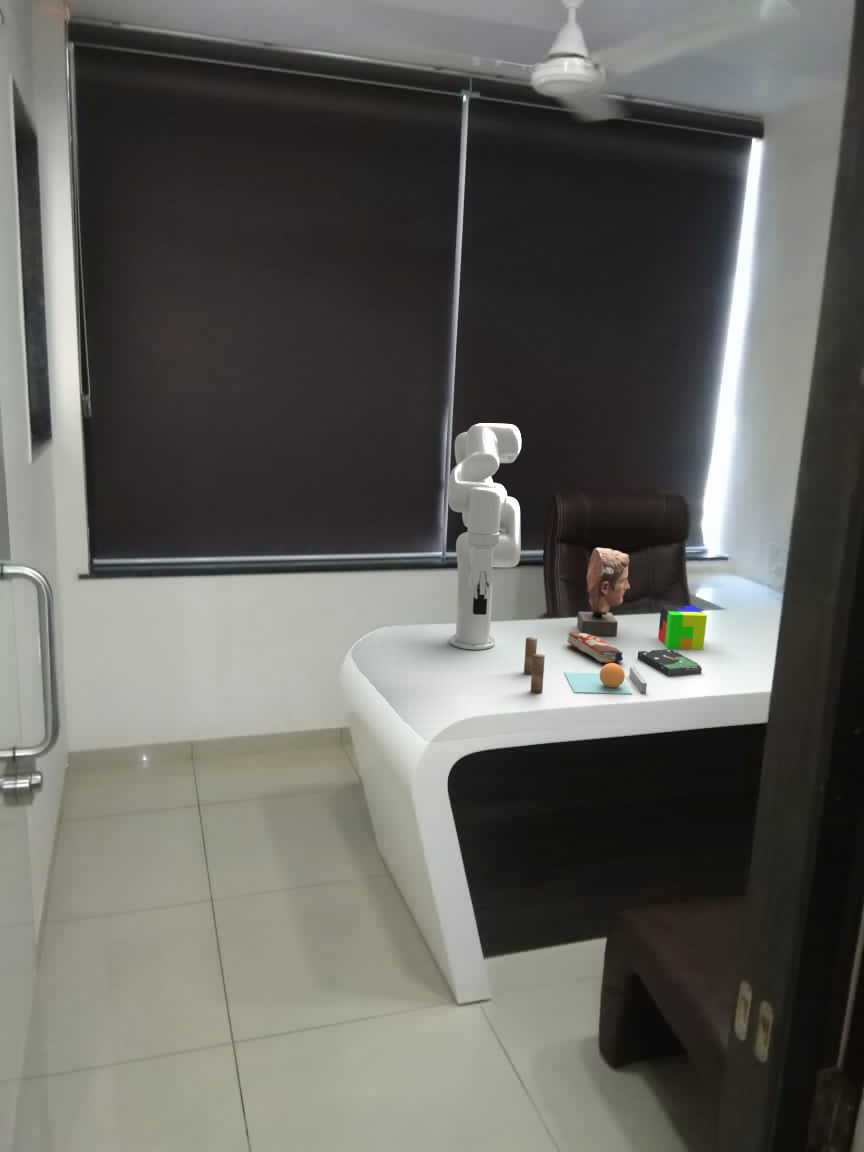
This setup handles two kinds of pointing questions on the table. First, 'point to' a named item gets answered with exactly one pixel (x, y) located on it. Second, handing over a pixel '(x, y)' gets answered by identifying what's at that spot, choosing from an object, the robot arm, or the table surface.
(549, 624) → the table surface
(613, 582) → the bust
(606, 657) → the pencil case
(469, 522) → the robot arm
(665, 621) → the puzzle toy
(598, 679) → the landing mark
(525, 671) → the post
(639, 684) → the stopper strip
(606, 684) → the ball
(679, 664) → the disk drive
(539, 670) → the post
